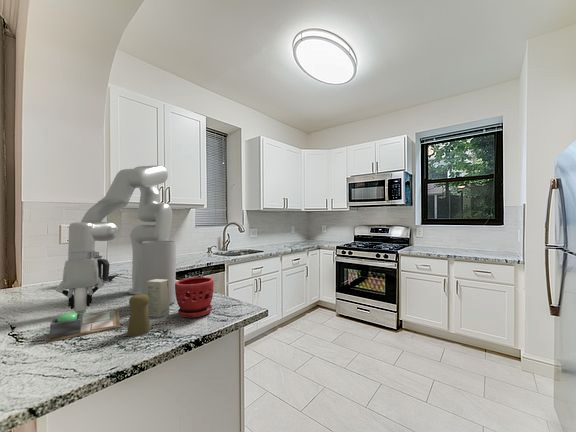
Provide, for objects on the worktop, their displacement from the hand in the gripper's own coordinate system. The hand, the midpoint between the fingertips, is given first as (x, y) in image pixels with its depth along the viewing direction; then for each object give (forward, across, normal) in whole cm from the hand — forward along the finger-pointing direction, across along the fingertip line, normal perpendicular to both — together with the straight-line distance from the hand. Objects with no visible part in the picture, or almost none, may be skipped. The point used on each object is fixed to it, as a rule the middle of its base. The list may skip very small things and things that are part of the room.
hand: (80, 306), depth 94 cm
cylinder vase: (+2, -25, +4) cm, 25 cm away
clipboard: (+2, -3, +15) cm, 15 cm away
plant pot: (+3, -34, +24) cm, 42 cm away
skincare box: (+3, -23, +18) cm, 29 cm away
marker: (+2, 0, 0) cm, 2 cm away
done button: (-1, +2, +20) cm, 21 cm away
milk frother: (+3, -4, -54) cm, 55 cm away
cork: (+3, -16, +31) cm, 35 cm away
